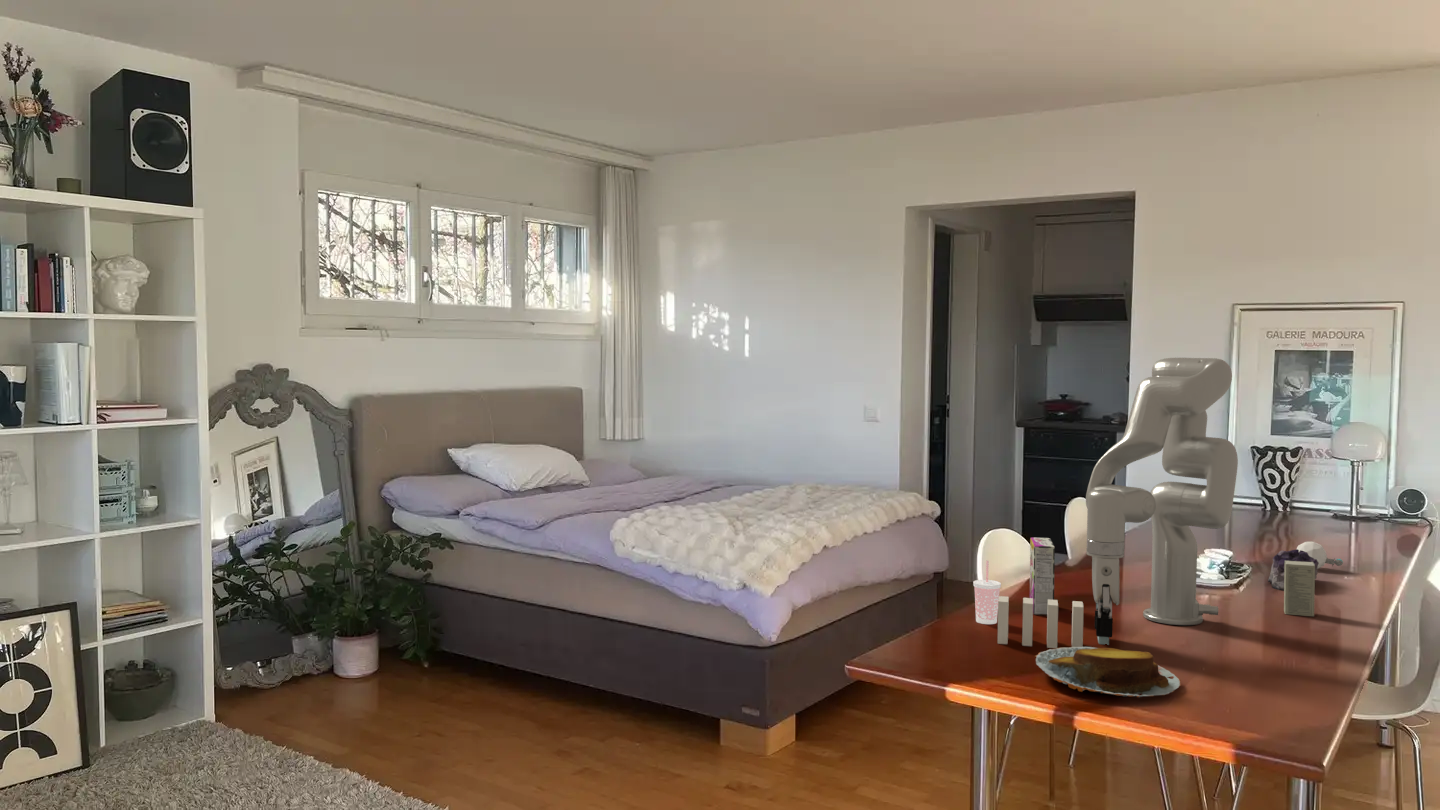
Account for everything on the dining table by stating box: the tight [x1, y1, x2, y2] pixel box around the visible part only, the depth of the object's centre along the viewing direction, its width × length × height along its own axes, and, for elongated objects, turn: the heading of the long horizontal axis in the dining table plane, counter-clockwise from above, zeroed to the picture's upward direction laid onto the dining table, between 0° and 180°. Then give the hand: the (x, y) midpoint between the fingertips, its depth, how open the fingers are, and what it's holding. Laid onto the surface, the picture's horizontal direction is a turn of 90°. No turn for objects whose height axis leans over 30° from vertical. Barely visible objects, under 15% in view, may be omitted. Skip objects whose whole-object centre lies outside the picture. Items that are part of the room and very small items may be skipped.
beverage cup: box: [972, 560, 1002, 625], centre depth 241 cm, size 6×6×14 cm
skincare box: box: [1283, 560, 1316, 617], centre depth 249 cm, size 6×4×12 cm
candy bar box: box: [1029, 537, 1056, 616], centre depth 252 cm, size 11×5×16 cm, turn 168°
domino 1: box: [997, 595, 1010, 645], centre depth 225 cm, size 2×5×9 cm, turn 163°
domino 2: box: [1021, 597, 1034, 647], centre depth 224 cm, size 2×5×9 cm, turn 164°
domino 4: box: [1071, 600, 1085, 647], centre depth 221 cm, size 2×5×9 cm, turn 164°
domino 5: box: [1096, 600, 1110, 646], centre depth 225 cm, size 2×5×9 cm, turn 163°
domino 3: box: [1046, 599, 1059, 649], centre depth 222 cm, size 2×5×9 cm, turn 163°
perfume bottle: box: [1296, 541, 1344, 570], centre depth 298 cm, size 8×8×12 cm
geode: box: [1267, 548, 1319, 592], centre depth 280 cm, size 20×12×10 cm, turn 145°
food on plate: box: [1035, 646, 1182, 698], centre depth 199 cm, size 26×26×7 cm
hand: (1103, 632), depth 225 cm, fingers closed on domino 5, 4 cm apart
